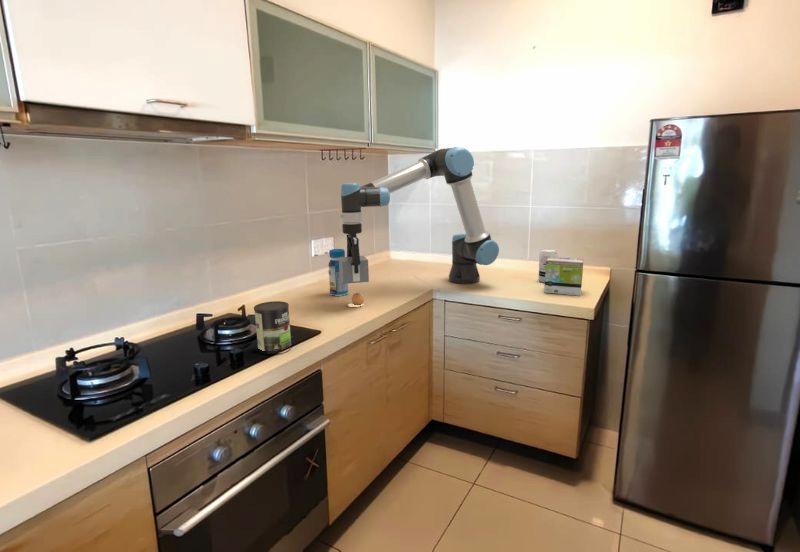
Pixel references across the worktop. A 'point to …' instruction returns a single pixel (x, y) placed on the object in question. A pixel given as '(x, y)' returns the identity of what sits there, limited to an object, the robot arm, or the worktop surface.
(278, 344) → the coffee can
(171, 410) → the worktop surface
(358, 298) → the ball
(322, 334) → the worktop surface
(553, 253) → the white carton
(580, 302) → the worktop surface
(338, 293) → the beverage bottle
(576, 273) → the tea box
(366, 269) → the gray rectangular box
